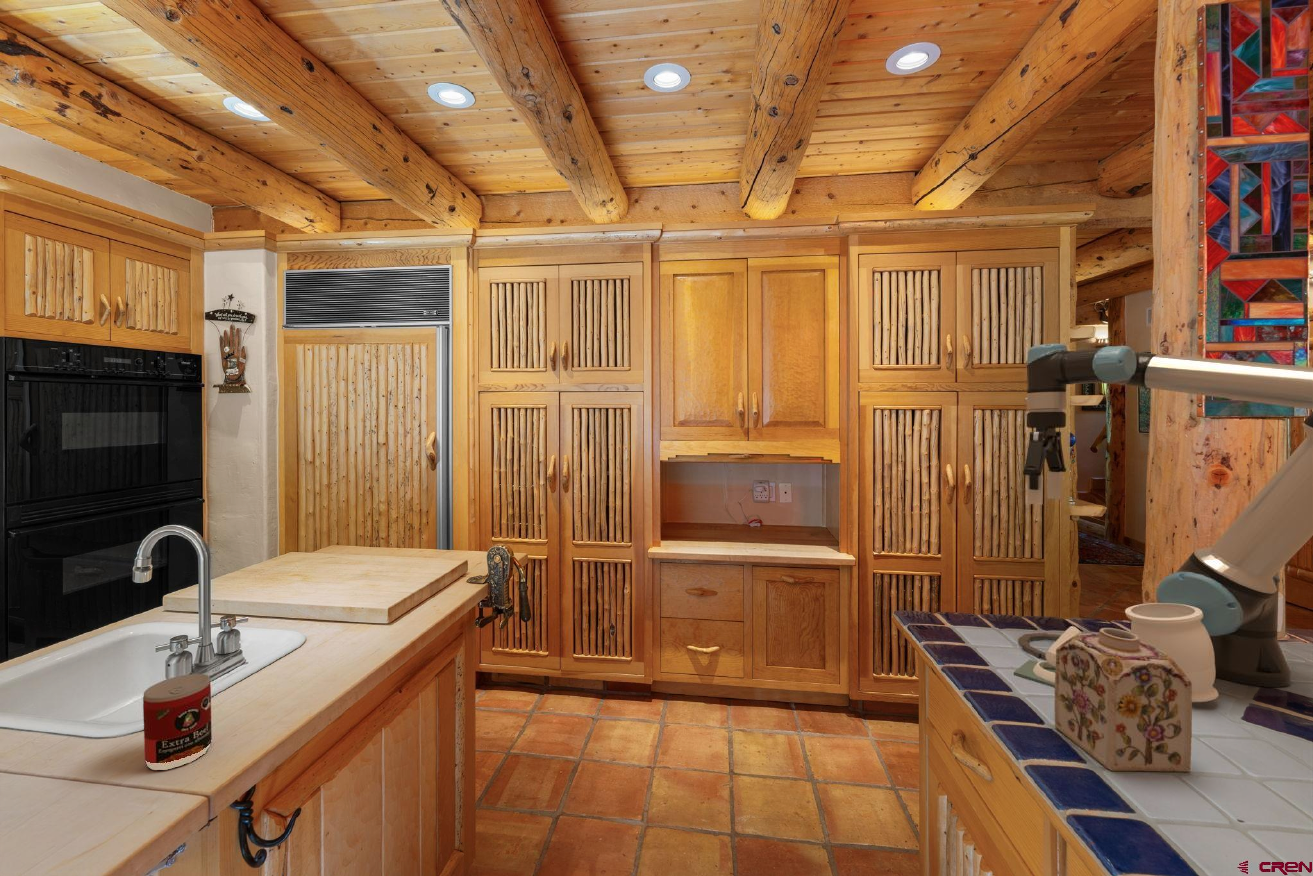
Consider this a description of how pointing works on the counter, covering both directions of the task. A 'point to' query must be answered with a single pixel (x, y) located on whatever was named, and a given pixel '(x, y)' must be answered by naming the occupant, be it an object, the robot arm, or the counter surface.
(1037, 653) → the metal ring
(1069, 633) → the hook
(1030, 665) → the rubber mat
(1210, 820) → the counter surface
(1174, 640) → the jar
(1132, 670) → the decorative jar
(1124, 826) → the counter surface
